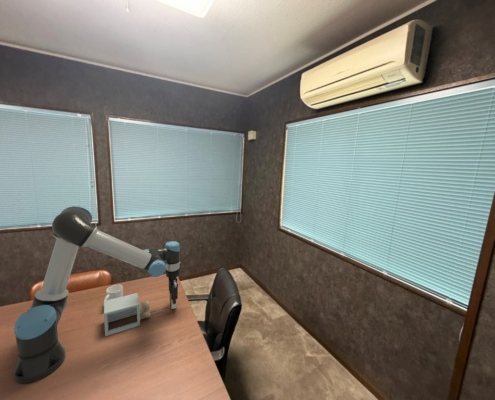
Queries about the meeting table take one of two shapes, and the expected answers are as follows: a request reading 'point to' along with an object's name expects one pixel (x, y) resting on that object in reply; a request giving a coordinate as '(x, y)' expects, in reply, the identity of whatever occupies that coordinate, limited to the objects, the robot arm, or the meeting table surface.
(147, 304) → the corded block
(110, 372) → the meeting table surface
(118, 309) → the box
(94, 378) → the meeting table surface
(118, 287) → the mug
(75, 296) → the meeting table surface
